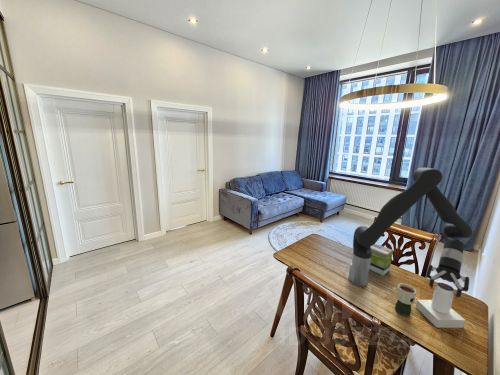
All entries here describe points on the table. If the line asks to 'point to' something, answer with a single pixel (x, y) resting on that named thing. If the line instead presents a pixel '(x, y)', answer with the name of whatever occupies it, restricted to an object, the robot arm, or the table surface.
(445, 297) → the can
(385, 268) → the tea box
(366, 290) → the table surface
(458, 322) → the cream plinth
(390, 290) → the table surface
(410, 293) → the character mug
